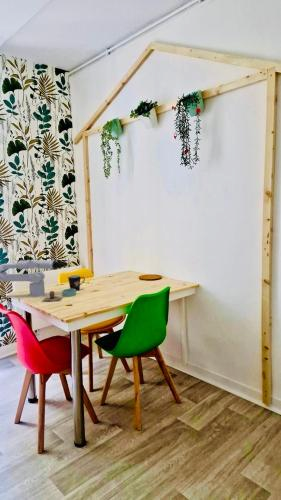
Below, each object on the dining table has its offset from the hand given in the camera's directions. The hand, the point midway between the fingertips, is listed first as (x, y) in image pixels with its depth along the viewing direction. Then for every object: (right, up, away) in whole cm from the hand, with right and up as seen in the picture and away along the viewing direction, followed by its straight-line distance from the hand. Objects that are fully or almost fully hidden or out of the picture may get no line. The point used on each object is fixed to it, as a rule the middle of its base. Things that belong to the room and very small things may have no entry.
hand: (65, 264), depth 225 cm
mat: (-6, -22, -10) cm, 25 cm away
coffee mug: (+5, -19, +15) cm, 25 cm away
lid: (-6, -22, -10) cm, 25 cm away
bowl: (+2, -21, 0) cm, 21 cm away
